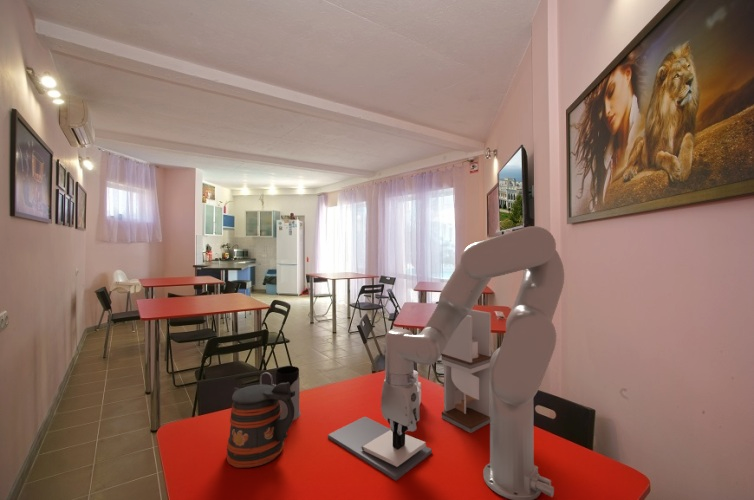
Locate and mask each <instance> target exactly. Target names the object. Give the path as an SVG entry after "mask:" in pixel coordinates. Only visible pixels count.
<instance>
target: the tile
mask: <svg viewBox="0 0 754 500" xmlns="http://www.w3.org/2000/svg"><path fill="white" fill-rule="evenodd" d="M426 443H427V442H426V441H425V440H424V441H423V440H421V439H418V438H415V437H413V436H411V435H408V434H406V433H405V445H404V446H403V447H401V448H400V449H398V450H397V449H396V448H393V432H392V431H391V430H389V431H387V432H385V433H384V434H382V435H380V436H379V437H377V438H375V439H373V440H372V441H370V442H368V443H367V444H365V445H363V446H362V447H361V449H362V450H363V451H365V452H367V453H369V454H372V455H374V456H376V457H378V458H380V459H382V460H384V461H386V462H388V463H390V464H392V465H394V466H396V467H398V466H399V465H400V464H402V463H403V462H405V461H406V460H407V459H409V458H410V457H411V456H413V455H414V454H416V453H417V452H418V451H420V450H421V449H422V448H424V447H425V446H426V447H427V444H426Z"/></svg>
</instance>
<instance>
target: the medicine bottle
mask: <svg viewBox="0 0 754 500" xmlns="http://www.w3.org/2000/svg"><path fill="white" fill-rule="evenodd" d="M414 377H415V378H416V379H417V380H416V383H415V384H416V386H417V387H418V388H419V406H420V405H421V402H422V382H421V381H419V372H418V371H417V370H415V369H414Z"/></svg>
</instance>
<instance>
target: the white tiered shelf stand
mask: <svg viewBox="0 0 754 500" xmlns="http://www.w3.org/2000/svg"><path fill="white" fill-rule="evenodd" d="M491 327H492V313H491V312H487V311H482V310H477V309H472V310H471V311H470V313H469V314H468V315H467V316H466V317H465V318H464V319H463V320H462V321H461V323H460V324H459V326H458V327H457V329H456V330H455V332H454V333H453V335H452V337H451V338H450V340H449V341H448V343H447V345H446V347H445V348H444V350H443V352H442V354H441V364H442V365H443V411H441V419H442V420H444V421H446V422H448V423H450V424H452V425H454V426H455V427H458V428H460V429H462V430H463V431H465V432H468V433H470V434H472V433H474V432H476V431H478V430H479V429H481V428H483V427H485V426H486V425H488V424H489V425H490V377H489V374H490V372H489V367H490V359H491V356H492V328H491Z"/></svg>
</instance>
